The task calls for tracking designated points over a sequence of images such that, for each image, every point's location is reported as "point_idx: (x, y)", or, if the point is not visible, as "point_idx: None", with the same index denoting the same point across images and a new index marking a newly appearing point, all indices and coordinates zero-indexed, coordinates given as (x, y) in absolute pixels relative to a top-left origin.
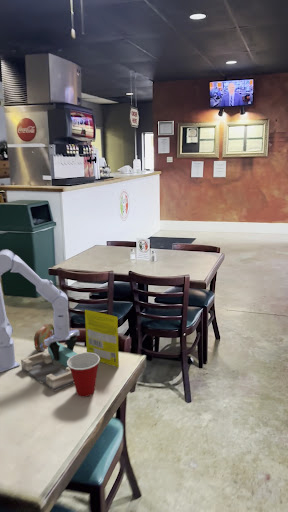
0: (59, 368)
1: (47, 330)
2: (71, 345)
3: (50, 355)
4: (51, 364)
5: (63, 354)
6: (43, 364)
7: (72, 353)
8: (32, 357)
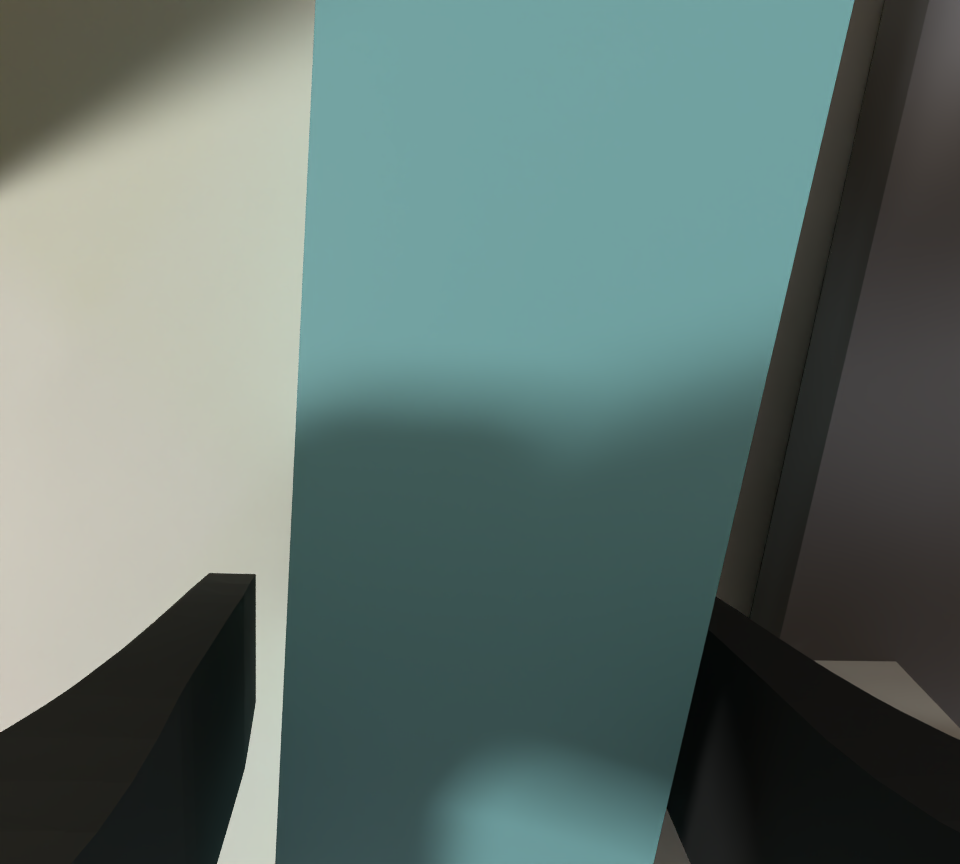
0: (923, 228)
1: None
2: (146, 788)
3: None
4: (862, 564)
5: (726, 509)
6: (955, 687)
7: (465, 278)
8: None
